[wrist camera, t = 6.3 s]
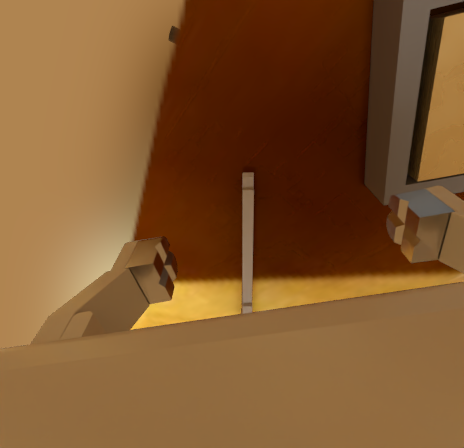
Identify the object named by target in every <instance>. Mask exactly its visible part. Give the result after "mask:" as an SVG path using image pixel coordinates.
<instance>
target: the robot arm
mask: <svg viewBox="0 0 464 448" xmlns="http://www.w3.org/2000/svg"><path fill="white" fill-rule="evenodd" d="M388 206H389V208H390V209H391V210H392V211H391V213H390V214H389V215H388V216H387V223H386V225H387V230H388V234H389V236H390V238H391V239H392V240H393V241H394V242H395V243H398V244H400V245H401V251H402V253H403V254H404V255H405V256H406V257H407V259H408V260H409V261H410V262H411V263H416V262H423V261H431V260H439V261H440V262H442V263H444V264H446V265H448V266H450V267H452V268H454V269H456V270H458V271H460V272H462V273H464V201H463V200H462V199H460V198H459V197H457V196H456V195H454V194H453V193H451V192H450V191H449V190H447V189H446V188H444V187H443V186H434V187H429V188H425V189H421V190H416V191H411V192H406V193H401V194H396V195H391V197H390V199H389V204H388ZM169 247H170V244H169V242H168V240H167V238H166V237H164V236H163V237H157V238H150V239H144V240H139V241H132V242H128V243H125V244H124V246H123V248H122V250H121V252H120V254H119V256H118V258H117V260H116V262H115V263H114V265H113V268H112V269H111V271H108V272H106V273H104V274H103V275H102V276H100V277H99V278H98V279H97V280H95V281H94V282H93V283H91V284H90V285H89V286H87V287H86V288H85V289H84V290H82V291H81V292H80V293H79V294H77V295H76V296H74V297H73V298H72V299H71V300H69V301H68V302H67V303H65V304H64V305H63V306H62V307H60V308H59V309H58V310H56V311H55V312H54V313H52V314H51V315H50V316H49V317H48V318H47V320H46V321H45V323H44V324H43V326H42V327H41V329H40V330H39V332H38V333H37V335H36V336H35V338H34V339H33V341H32V342H31V344H30V345H23V346H16V347H10V348H3V349H0V448H464V282H459V283H452V284H445V285H438V286H432V287H425V288H418V289H411V290H404V291H397V292H390V293H383V294H376V295H369V296H362V297H355V298H348V299H341V300H334V301H327V302H321V303H314V304H307V305H300V306H293V307H286V308H280V309H273V310H266V311H259V312H252V313H245V314H238V315H231V316H224V317H217V318H210V319H204V320H197V321H190V322H183V323H176V324H169V325H162V326H155V327H148V328H141V329H134V330H130V329H131V328H132V326H133V325H134V324H135V323H136V321H137V320H138V319H139V318H140V316H141V315H142V314H143V313H144V312H145V310H146V309H147V308H148V307H149V304H153V303H159V302H164V301H169V300H171V299H172V295H173V291H174V284H173V281H174V280H175V279H176V277H177V272H178V271H177V262H176V258H175V256H174V254H173V253H172V252H170V251H169Z"/></svg>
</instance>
